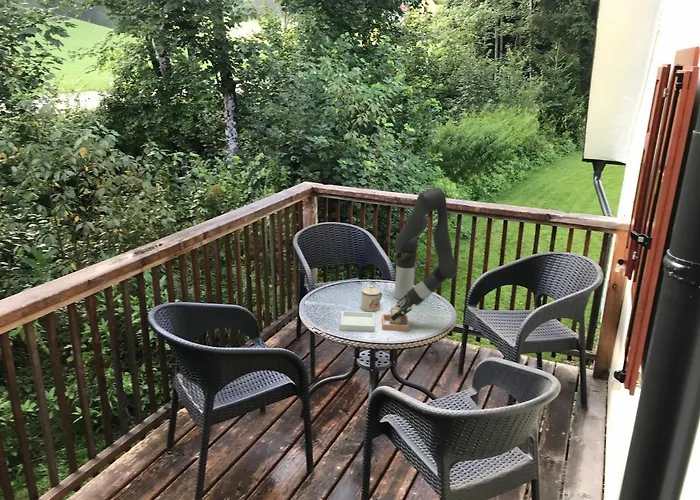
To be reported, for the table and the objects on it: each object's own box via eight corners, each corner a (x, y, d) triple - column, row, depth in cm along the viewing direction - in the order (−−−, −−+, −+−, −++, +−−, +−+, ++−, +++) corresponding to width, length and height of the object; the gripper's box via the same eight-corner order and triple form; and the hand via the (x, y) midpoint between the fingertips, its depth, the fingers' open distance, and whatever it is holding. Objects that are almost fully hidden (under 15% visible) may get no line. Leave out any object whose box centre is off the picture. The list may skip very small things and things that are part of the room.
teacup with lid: (370, 313, 266) (371, 290, 263) (357, 307, 272) (358, 285, 269) (387, 307, 274) (389, 285, 271) (374, 301, 280) (375, 279, 277)
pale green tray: (341, 316, 262) (341, 311, 261) (373, 318, 261) (374, 312, 260) (340, 330, 247) (340, 324, 246) (374, 332, 247) (374, 326, 246)
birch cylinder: (389, 322, 257) (390, 306, 255) (399, 323, 257) (400, 306, 255) (390, 326, 253) (391, 310, 250) (400, 327, 253) (401, 311, 250)
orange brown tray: (381, 319, 261) (382, 314, 260) (406, 320, 260) (407, 315, 260) (382, 329, 249) (382, 324, 249) (408, 331, 249) (408, 325, 249)
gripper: (412, 281, 256) (385, 304, 260) (415, 293, 242) (386, 316, 246) (423, 292, 258) (396, 315, 261) (426, 304, 244) (398, 328, 248)
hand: (391, 315), depth 254 cm, fingers open, 6 cm apart
